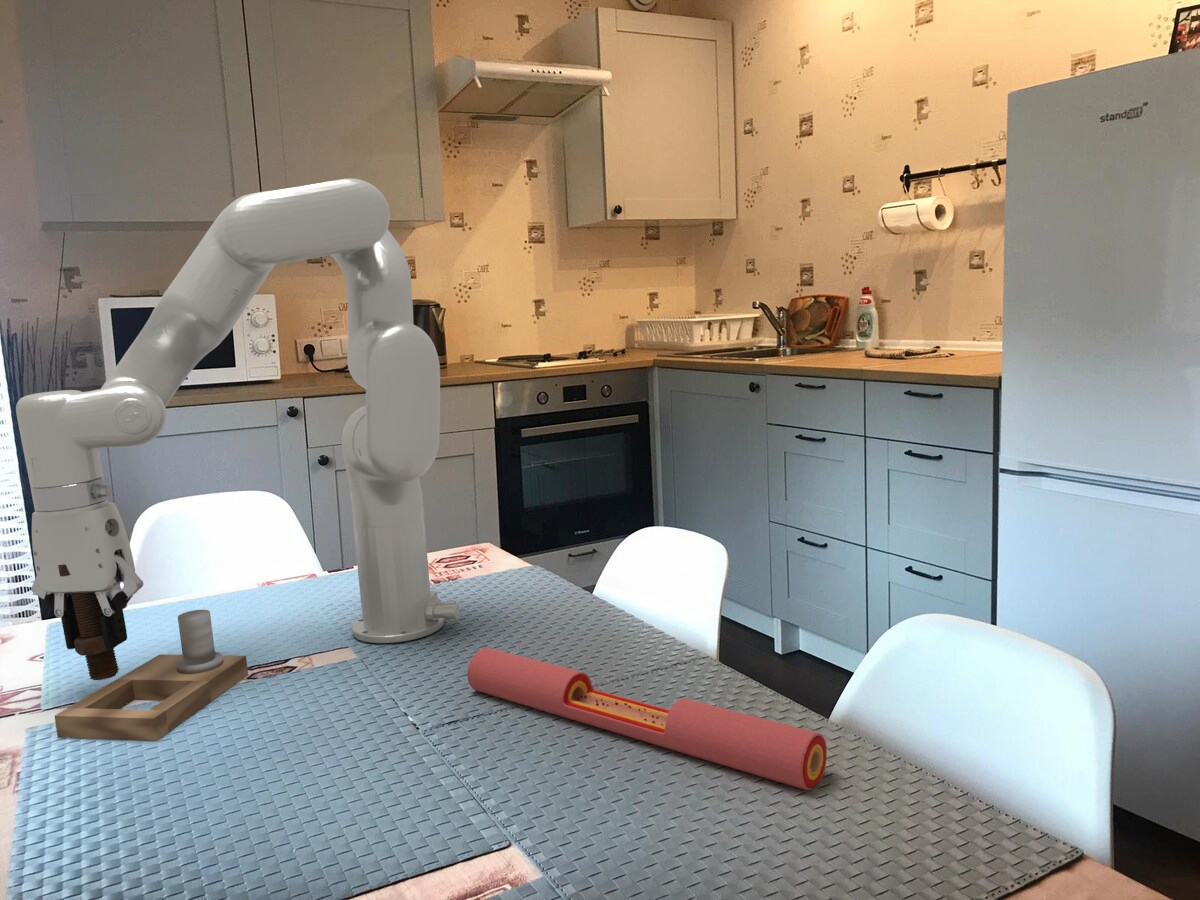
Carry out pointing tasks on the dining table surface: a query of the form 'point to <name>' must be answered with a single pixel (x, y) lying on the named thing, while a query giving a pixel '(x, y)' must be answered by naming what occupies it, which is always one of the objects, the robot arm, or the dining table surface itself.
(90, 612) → the bolt
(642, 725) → the blood vessel
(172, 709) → the wooden peg holder
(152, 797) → the dining table surface
